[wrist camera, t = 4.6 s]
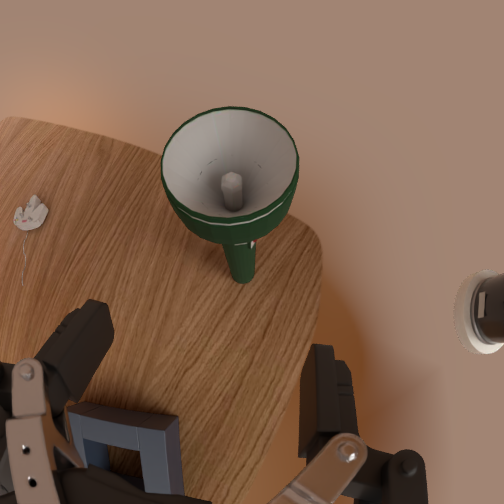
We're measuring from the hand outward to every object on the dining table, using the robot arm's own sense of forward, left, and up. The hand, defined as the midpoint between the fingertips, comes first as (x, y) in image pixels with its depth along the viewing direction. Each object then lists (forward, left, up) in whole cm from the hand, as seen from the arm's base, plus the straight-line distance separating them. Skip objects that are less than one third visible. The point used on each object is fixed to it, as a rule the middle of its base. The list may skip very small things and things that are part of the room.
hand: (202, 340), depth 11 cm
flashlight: (-1, -6, -18) cm, 19 cm away
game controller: (+27, -10, -18) cm, 34 cm away
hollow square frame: (+11, +14, -17) cm, 25 cm away
